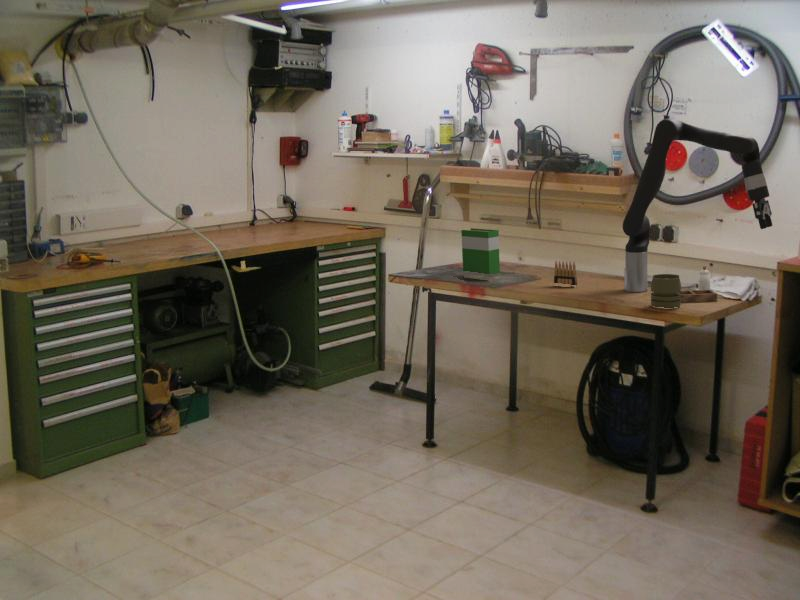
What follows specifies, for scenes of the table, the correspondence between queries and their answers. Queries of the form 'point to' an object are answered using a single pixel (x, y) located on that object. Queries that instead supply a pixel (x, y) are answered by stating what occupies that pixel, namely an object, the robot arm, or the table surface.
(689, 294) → the wooden compartment tray
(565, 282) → the ammunition clip
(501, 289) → the table surface
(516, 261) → the table surface
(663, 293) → the olive green pot
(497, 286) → the table surface
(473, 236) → the green box
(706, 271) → the glue bottle
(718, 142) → the robot arm
